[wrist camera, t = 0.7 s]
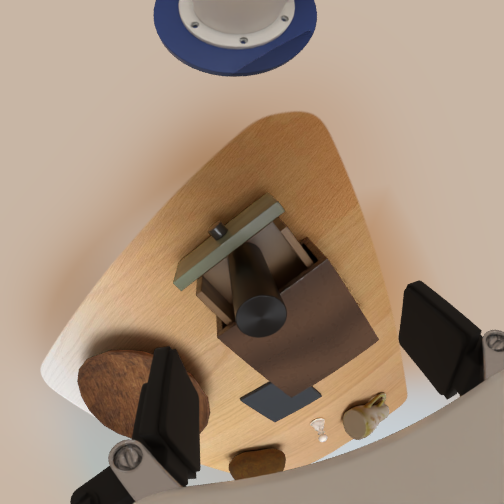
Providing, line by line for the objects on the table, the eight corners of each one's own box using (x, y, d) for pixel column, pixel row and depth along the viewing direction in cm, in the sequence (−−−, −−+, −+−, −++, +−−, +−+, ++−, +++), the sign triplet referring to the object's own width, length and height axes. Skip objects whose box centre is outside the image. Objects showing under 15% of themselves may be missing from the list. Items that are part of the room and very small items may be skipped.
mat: (291, 368, 40) (292, 370, 40) (321, 394, 44) (322, 396, 43) (239, 398, 41) (240, 400, 41) (274, 420, 45) (274, 422, 45)
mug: (379, 411, 51) (372, 449, 42) (342, 399, 52) (332, 438, 44) (398, 396, 46) (394, 437, 38) (360, 382, 48) (352, 424, 40)
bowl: (212, 334, 36) (213, 360, 31) (207, 425, 44) (208, 447, 39) (74, 320, 33) (60, 342, 28) (103, 414, 40) (98, 434, 36)
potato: (283, 455, 52) (291, 486, 44) (232, 464, 51) (236, 495, 43) (281, 440, 49) (290, 474, 41) (224, 449, 48) (227, 484, 40)
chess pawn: (325, 416, 47) (333, 436, 43) (321, 424, 48) (328, 443, 44) (312, 418, 47) (319, 438, 42) (308, 426, 48) (315, 445, 43)
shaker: (248, 234, 29) (267, 285, 19) (269, 260, 31) (296, 318, 21) (219, 256, 30) (224, 316, 20) (242, 281, 31) (256, 346, 21)
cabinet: (215, 304, 34) (217, 337, 28) (306, 236, 33) (327, 258, 26) (281, 365, 40) (291, 398, 34) (358, 312, 38) (379, 340, 32)
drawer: (170, 255, 30) (164, 274, 26) (261, 182, 29) (269, 190, 24) (251, 336, 36) (256, 360, 31) (331, 279, 34) (346, 299, 30)
